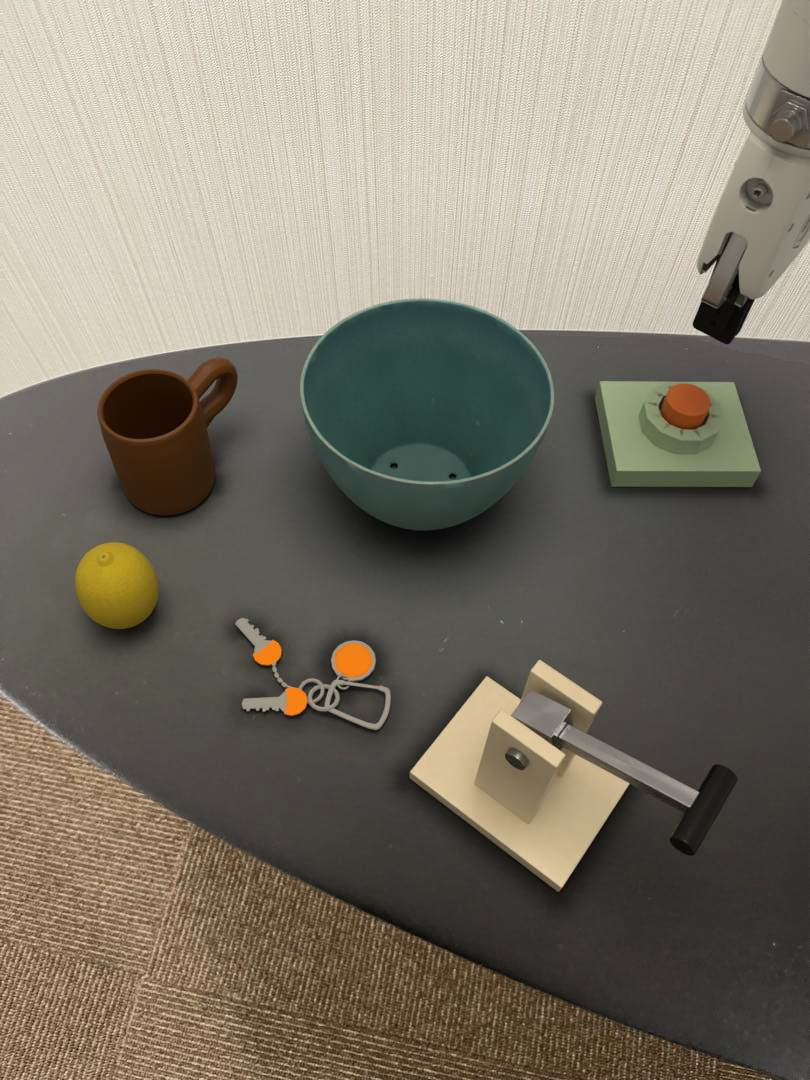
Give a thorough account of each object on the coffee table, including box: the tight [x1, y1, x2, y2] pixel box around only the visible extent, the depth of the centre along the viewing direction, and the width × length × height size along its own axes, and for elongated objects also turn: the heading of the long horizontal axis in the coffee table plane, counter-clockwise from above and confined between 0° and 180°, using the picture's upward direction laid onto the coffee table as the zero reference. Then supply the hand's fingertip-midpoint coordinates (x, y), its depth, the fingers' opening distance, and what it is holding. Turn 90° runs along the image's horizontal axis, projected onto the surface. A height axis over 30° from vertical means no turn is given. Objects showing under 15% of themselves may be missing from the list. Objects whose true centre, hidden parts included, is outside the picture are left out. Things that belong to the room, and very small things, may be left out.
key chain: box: [234, 617, 392, 731], centre depth 65 cm, size 13×7×1 cm, turn 76°
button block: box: [594, 380, 762, 488], centre depth 77 cm, size 12×10×4 cm
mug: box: [96, 356, 238, 517], centre depth 72 cm, size 12×8×9 cm, turn 139°
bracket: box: [408, 659, 631, 893], centre depth 57 cm, size 12×9×12 cm
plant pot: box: [299, 297, 555, 531], centre depth 70 cm, size 18×18×12 cm
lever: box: [511, 689, 738, 857], centre depth 51 cm, size 12×5×2 cm, turn 52°
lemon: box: [74, 541, 160, 630], centre depth 64 cm, size 6×6×8 cm
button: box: [661, 383, 711, 429], centre depth 75 cm, size 4×4×2 cm
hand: (714, 330), depth 69 cm, fingers closed
